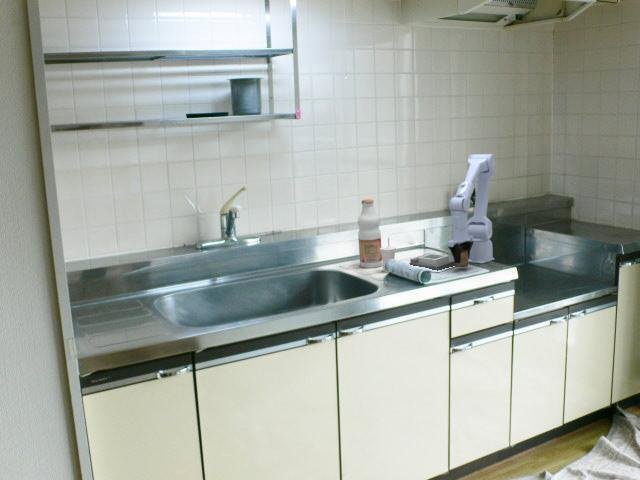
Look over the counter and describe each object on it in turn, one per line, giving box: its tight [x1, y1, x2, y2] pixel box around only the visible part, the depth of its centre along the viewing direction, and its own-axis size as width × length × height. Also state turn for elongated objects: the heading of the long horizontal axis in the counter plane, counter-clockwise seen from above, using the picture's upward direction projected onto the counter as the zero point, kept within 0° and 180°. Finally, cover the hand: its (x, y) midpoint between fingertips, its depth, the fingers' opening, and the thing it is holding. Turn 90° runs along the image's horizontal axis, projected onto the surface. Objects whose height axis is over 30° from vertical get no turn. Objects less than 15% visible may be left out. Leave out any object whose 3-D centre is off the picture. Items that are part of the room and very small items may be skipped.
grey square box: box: [408, 252, 455, 271], centre depth 278 cm, size 14×14×4 cm
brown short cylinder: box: [454, 250, 469, 268], centre depth 271 cm, size 5×5×6 cm
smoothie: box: [380, 236, 397, 273], centre depth 276 cm, size 6×6×14 cm
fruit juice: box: [357, 199, 383, 269], centre depth 287 cm, size 9×9×28 cm
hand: (461, 261), depth 271 cm, fingers closed on brown short cylinder, 5 cm apart
